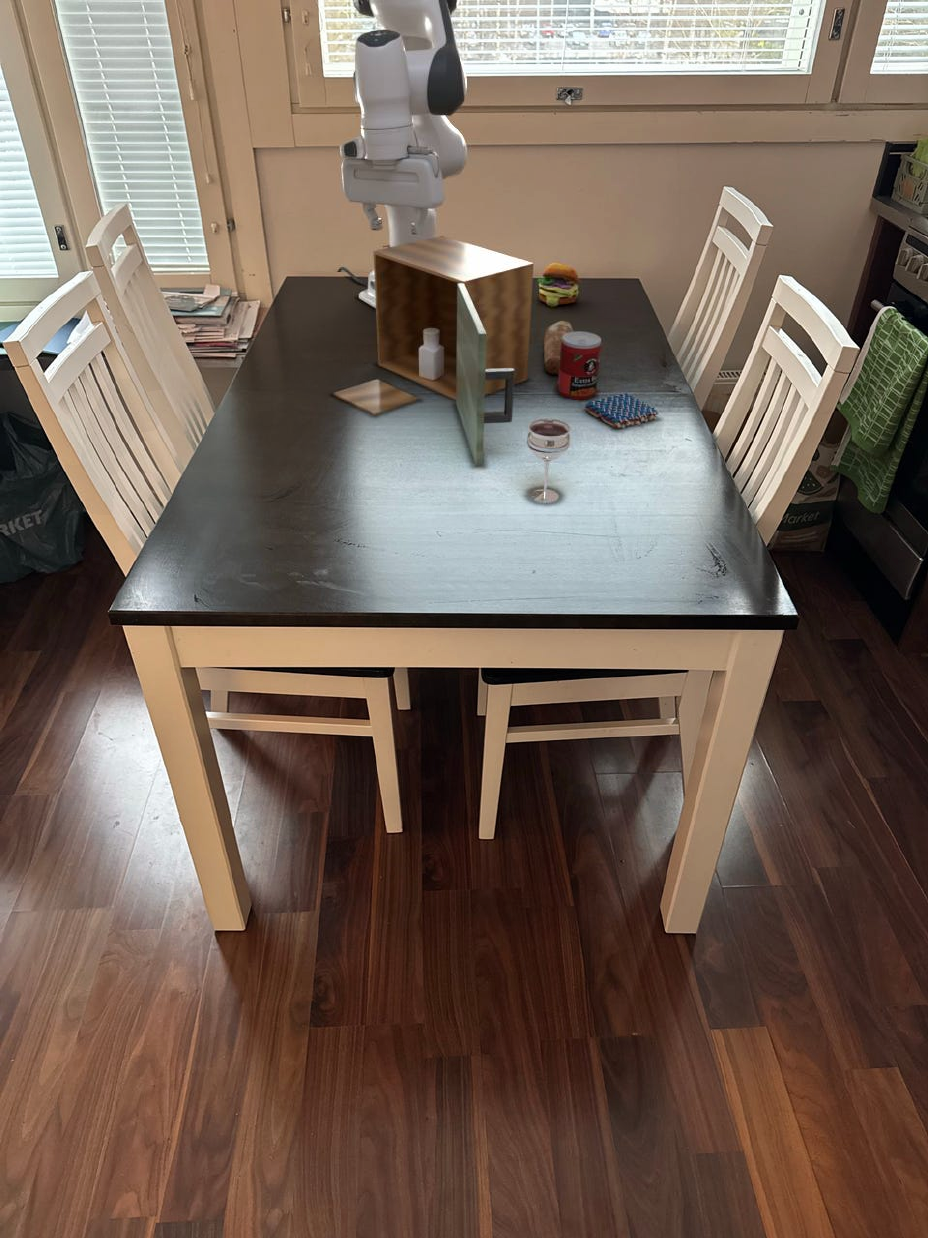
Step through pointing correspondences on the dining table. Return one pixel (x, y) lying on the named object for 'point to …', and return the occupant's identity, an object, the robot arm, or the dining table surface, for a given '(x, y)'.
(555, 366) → the bread
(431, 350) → the pepper shaker
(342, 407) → the dining table surface
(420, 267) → the cupboard
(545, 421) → the wineglass
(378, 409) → the coaster
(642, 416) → the woven mat
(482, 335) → the cupboard door
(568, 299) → the cheeseburger
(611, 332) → the dining table surface
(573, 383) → the canned food
